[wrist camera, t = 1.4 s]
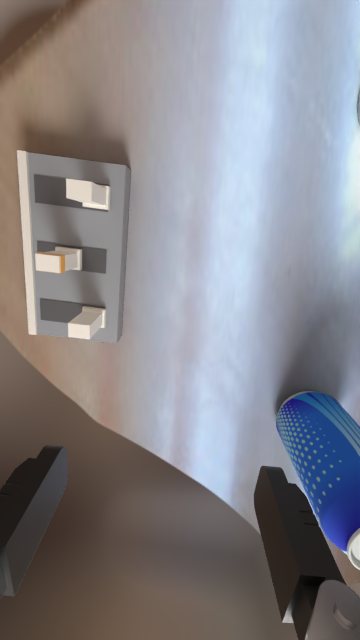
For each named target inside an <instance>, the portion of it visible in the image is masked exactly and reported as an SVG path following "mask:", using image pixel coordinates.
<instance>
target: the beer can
mask: <svg viewBox="0 0 360 640" xmlns="http://www.w3.org/2000/svg"><path fill="white" fill-rule="evenodd" d="M276 427H277V430H278V433H279V435H280V437H281V439H282V441H283V444H284V446H285V448H286V450H287V452H288V454H289V457H290V459H291V461H292V463H293V465H294V468H295V470H296V472H297V474H298V476H299V478H300V481H301V483H302V485H303V487H304V489H305V492H306V494H307V496H308V498H309V500H310V502H311V505H312V507H313V509H314V511H315V513H316V516H317V518H318V520H319V522H320V524H321V526H322V529H323V531H324V532H325V534H326V536H327V537H328V538H329V539H330V541H331V542H332V543H334V544H335V545H336V546H337V547H338V548H340V549H341V550H342V551H343V552H344V553H346V554H347V555H348V557H349V559H350V561H351V563H352V564H353V565H354V566H355V567H356V568H357V569H359V570H360V427H359V425H358V424H357V423H356V422H355V421H354V420H353V419H352V418H351V416H350V415H349V414H348V413H347V412H346V411H345V410H344V409H343V407H342V406H341V405H340V404H339V403H338V402H337V401H336V400H335V399H334V398H333V397H331V396H329V395H327V394H325V393H321V392H313V391H303V392H299V393H296V394H294V395H292V396H290V397H289V398H287V399H286V400H285V401H284V402H283V404H282V405H281V407H280V410H279V412H278V414H277V417H276Z"/></svg>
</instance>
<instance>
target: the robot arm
mask: <svg viewBox="0 0 360 640" xmlns="http://www.w3.org/2000/svg"><path fill="white" fill-rule="evenodd" d="M358 120H359V124H360V94H359V101H358ZM67 479H68V465H67V449H66V447H64V446H54V445H46V446H45V447H44V448H43V449H42V451H41V452H40V454H39V455H38V457H37V458H36V459H33V458H28V459H27V460H26V461H24V462H23V463H22V464H21V465H19V466H18V467H17V468H16V469H15V470H14V471H13V473H12V474H11V476H10V477H9V478H8V480H7V481H6V484H5V485H4V486H3V487H2V488H1V490H0V600H1V598H2V596H3V595H6V596H15V594H16V592H17V590H18V588H19V586H20V584H21V582H22V579H23V577H24V575H25V573H26V571H27V569H28V567H29V564H30V562H31V560H32V558H33V556H34V554H35V552H36V550H37V547H38V545H39V543H40V541H41V539H42V537H43V535H44V533H45V531H46V528H47V526H48V524H49V522H50V520H51V518H52V516H53V514H54V511H55V509H56V507H57V505H58V503H59V501H60V499H61V497H62V494H63V492H64V490H65V487H66V484H67ZM254 507H255V512H256V516H257V520H258V525H259V529H260V533H261V537H262V541H263V545H264V549H265V553H266V557H267V561H268V566H269V570H270V574H271V578H272V582H273V586H274V590H275V595H276V599H277V603H278V607H279V611H280V615H281V619H282V622H286V623H294V626H295V630H296V633H297V637H298V638H297V640H360V597H359V596H358V595H357V594H356V593H355V592H354V591H353V590H352V589H351V588H350V587H348V586H347V585H346V583H345V581H344V579H343V577H342V575H341V573H340V571H339V569H338V567H337V564H336V562H335V560H334V558H333V555H332V553H331V551H330V549H329V546H328V544H327V542H326V540H325V537H324V535H323V533H322V531H321V529H320V527H319V526H318V522H317V520H316V517H315V515H314V514H313V511H312V508H311V506H310V504H309V502H308V499H307V497H306V496H305V495H304V493H303V492H302V491H301V490H300V489H299V487H298V486H297V485H296V484H292V483H288V481H287V479H286V476H285V474H284V471H283V470H282V468H280V467H270V466H261V468H260V472H259V476H258V480H257V484H256V488H255V492H254Z"/></svg>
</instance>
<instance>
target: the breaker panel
mask: <svg viewBox="0 0 360 640" xmlns="http://www.w3.org/2000/svg"><path fill="white" fill-rule="evenodd" d="M17 162H18V177H19V193H20V208H21V223H22V239H23V254H24V269H25V285H26V300H27V316H28V331H29V334H32V335H37V334H42V335H50V336H58V337H66V338H75V339H83V340H91V341H99V342H108V343H116V344H117V342H118V341H119V339H120V338H121V336H122V324H123V306H124V288H125V271H126V253H127V235H128V218H129V200H130V182H131V171H130V169H129V168H128V167H127V166H126V165H119V164H112V163H104V162H97V161H89V160H82V159H74V158H67V157H59V156H52V155H44V154H37V153H30V152H26V151H20V150H17ZM55 247H66V248H74V249H82V270H72V269H71V270H68V271H65V272H64V273H53V272H45V271H37V270H36V260H35V253H36V252H49V251H55Z"/></svg>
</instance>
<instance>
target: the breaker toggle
mask: <svg viewBox="0 0 360 640" xmlns="http://www.w3.org/2000/svg"><path fill="white" fill-rule="evenodd" d="M35 260H36V270H37V271H45V272H53V273H64V272H65V271H68V270H71V269H72V270H82V249H74V248H66V247H55V251H49V252H36V253H35Z"/></svg>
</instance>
